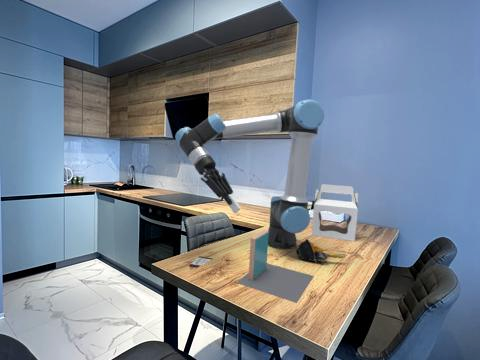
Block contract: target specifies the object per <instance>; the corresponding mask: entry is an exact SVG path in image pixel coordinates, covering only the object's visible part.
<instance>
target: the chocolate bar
mask: <svg viewBox="0 0 480 360" xmlns="http://www.w3.org/2000/svg"><path fill="white" fill-rule="evenodd" d="M213 259H214V258H212V257H207V256H200V255H199V256H198V257H197V258H196V259H195V260H194V261H192V262H191V263H190V264H189V265H188V266H189V267H190V268H195V269H198V268H199V267H202V266H203V265H204V264H207V263H209V262H210V261H212V260H213Z"/></svg>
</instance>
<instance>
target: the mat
mask: <svg viewBox="0 0 480 360" xmlns="http://www.w3.org/2000/svg"><path fill="white" fill-rule="evenodd" d="M313 278H315V276H314V275H313V274H308V273H305V272H301V271H297V270H293V269H289V268H286V267H282V266H279V265H275V264H271V263H268V262H267V267H266V269H265V270H264V271H263V272H262V273H261V274H260V275H259V276H257V277H256V278H255V279H254V280H249V272H247V273H246V274H245V275H244V276H242V278H240V279H239V280H238V281H237V282H235V283H236V284H238V285H241V286H244V287H247V288H250V289H253V290H256V291H259V292H262V293H265V294H267V295H270V296H275V297H278V298H280V299H284V300H286V301H289V302H293V303H295V304H297V303H298V302H299V300H300V299H301V297H302V296H303V294H304V293H305V291H306V289H307V288H308V286H309V285H310V284H311V281H312V280H313Z"/></svg>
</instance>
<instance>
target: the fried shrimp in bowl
mask: <svg viewBox="0 0 480 360" xmlns="http://www.w3.org/2000/svg"><path fill="white" fill-rule="evenodd" d="M326 251H328V250H327V249H323V248H321V247H319V246H316V245H315V244H314V242H311V241H310V240H309V239H305V240H304V241H302V242H301V243H300V244H299V245H298V247H297V248H296V250H295V253H296V255H297V257H298V259H302V260H305V261H314V262H315V263H318V264H319V263H324V261H326V260H328V258H334V259H345V258H346V255H345V254H344V253H330V252H328V253H327V252H326Z"/></svg>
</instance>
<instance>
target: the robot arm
mask: <svg viewBox="0 0 480 360" xmlns="http://www.w3.org/2000/svg"><path fill="white" fill-rule="evenodd" d="M324 119H325V111H324V108H323V107H322V106H321V104H320V103H319V102H318V101H317V100H314V99H304V100H301V101H299V102H297V103H296V104H295V105H293V106H291V107H289V108H287V109H284V110H278V111H275V113H273V114H267V115H257V116H251V117H244V118H237V119H228V120H223V119H222V117H220V116H219V114H218V113H213V114H212V115H210V116H208V117H207V118H206V119H205V120H203V121H201V123H199V124H198V125H196V126H195V127H194V128H190V127H189V126H184V127H183V128H180V129H179V130H177V132H176V133H175V136H174V137H175V141H176V142H177V144H178V146H179V147H180V149H181V150H182V152H183V153H184V154H185V156H186V157H187V158H188V159H189V161H190V163H191V164H192V166H194V168H195V170H196V172H197V173H198V174H199V175H200V176H201V177H200V180H201V181H202V182H203V183H205V185H207V186H208V187H209V189H210V190H211V191H212V192H213V193H214V194H215V196H217V198H219V199H220V201H223V200H224V201H225V203H226V204H227V205H228V207H229V208H230V210H231V211H232V212H233V214H236V213H238V212H239V211H240V210H242V207H241V205H240V204H239V203H238V202H237V200H236V199H235V197H234V196H233V193H234V190H233V188H232V186H231V184H230V183H229V181H228V179H227V178H226V173H224V172H222V173H220V172H219V170H218V169H217V168H216V165H217V164H216V161H215V159H214V158H213V157H212V156H211V155H210V153H209V151H208V150H207V149H206V148H205V147H204V145H206V144H207V143H208V142H210V141H214V140H220V139H221V140H222V139H226V138H227V139H228V138H233V137H240V136H241V137H242V136H249V135H256V134H263V133H271V132H277V133H278V134H280V133H288V135H289V136H290V138H291V140H290V146H289V149H290V150H289V154H288V155H289V156H288V162H287V163H288V164H287V165H288V166H287V172H286V179H285V187H284V188H285V189H284V194H283V195H282V196H281V195H279V196H277V195H276V196H272V197H271V200H270V208H269V209H270V212H269V227H268V230H267V231H269V235H268V247H271V248H275V249H280V250H282V249H286V250H287V249H294V248H296V247H297V242H298V240H297V235H296V234H299V233H302V232H303V231H305V230H306V229H308V227H309V225H310V222H311V216H310V212H309V211H308V208H309V201H308V199H307V197H306V193H307V187H308V186H307V185H308V178H309V169H310V162H311V157H312V156H311V155H312V148H313V141H314V139H315V138H316V137H317V136H318V131H319V127H320V126H321V125H322V124H323V122H324Z"/></svg>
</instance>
